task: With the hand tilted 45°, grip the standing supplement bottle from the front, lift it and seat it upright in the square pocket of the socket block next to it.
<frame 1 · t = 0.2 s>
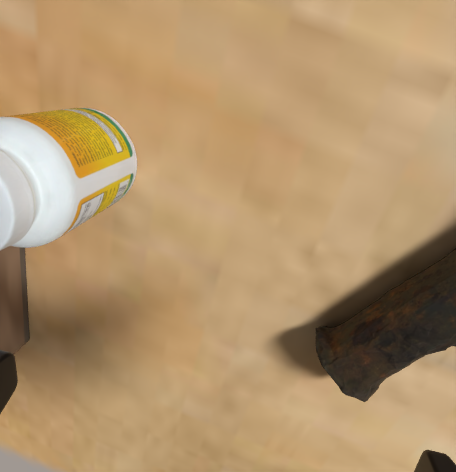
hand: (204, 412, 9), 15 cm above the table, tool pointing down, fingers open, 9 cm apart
supplement bottle: (95, 156, 23), on the table
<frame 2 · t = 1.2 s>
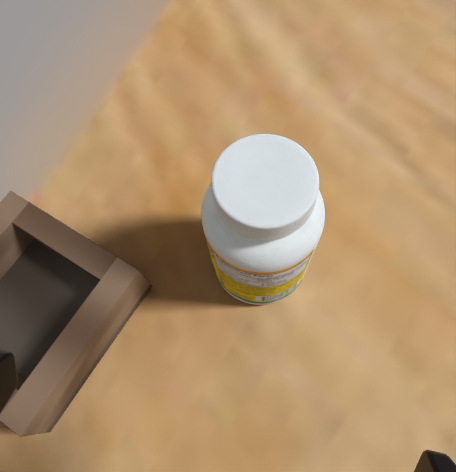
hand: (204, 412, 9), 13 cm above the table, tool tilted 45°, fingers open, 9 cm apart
supplement bottle: (259, 261, 24), on the table
socket block: (42, 311, 24), on the table
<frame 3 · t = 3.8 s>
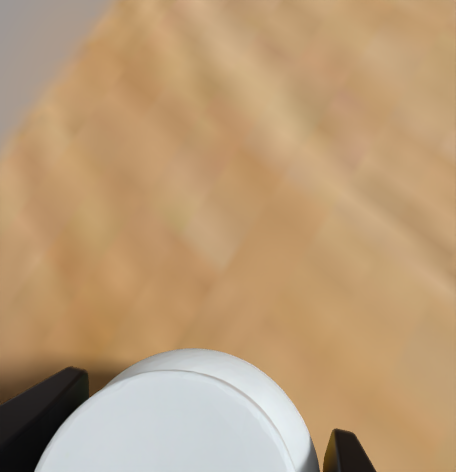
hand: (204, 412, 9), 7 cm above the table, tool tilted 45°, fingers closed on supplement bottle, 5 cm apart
supplement bottle: (215, 449, 15), on the table, touching gripper
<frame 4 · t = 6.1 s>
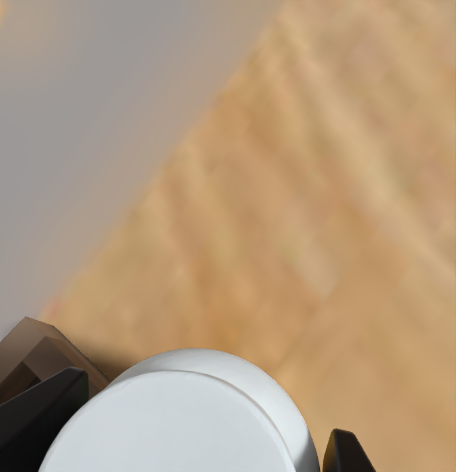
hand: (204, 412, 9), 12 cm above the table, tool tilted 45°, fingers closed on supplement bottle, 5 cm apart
supplement bottle: (217, 446, 15), point 5 cm above the table, touching gripper
socket block: (46, 460, 20), on the table
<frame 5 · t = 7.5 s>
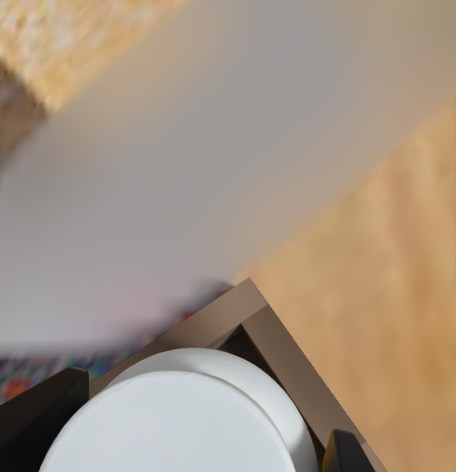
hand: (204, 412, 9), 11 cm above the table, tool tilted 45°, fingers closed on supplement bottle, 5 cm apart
supplement bottle: (216, 446, 15), point 4 cm above the table, touching gripper
socket block: (224, 431, 19), on the table
when the fingers open (8 cm above the table, at t = 8.4 s): supplement bottle stays where it is, resting on socket block.
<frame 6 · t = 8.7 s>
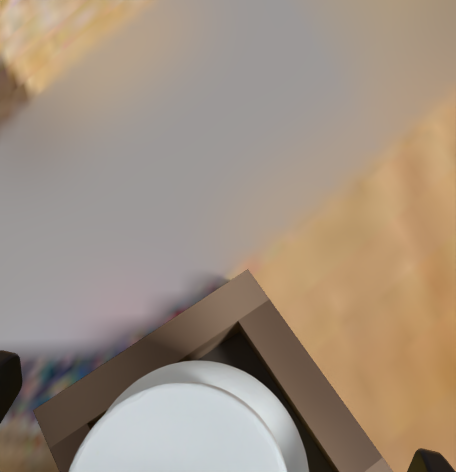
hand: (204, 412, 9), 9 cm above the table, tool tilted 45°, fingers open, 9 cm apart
supplement bottle: (216, 449, 16), resting on socket block
socket block: (219, 443, 16), on the table
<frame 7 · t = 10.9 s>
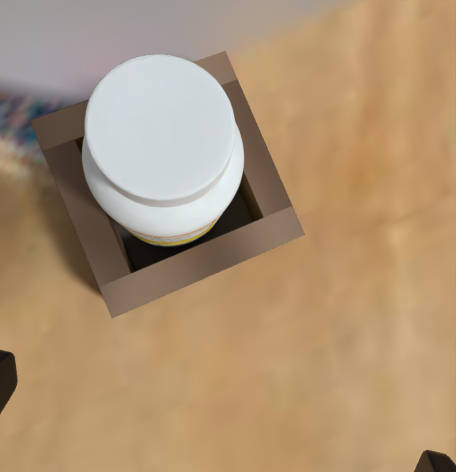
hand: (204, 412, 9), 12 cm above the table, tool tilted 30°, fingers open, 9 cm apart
supplement bottle: (170, 193, 21), resting on socket block
socket block: (172, 191, 21), on the table
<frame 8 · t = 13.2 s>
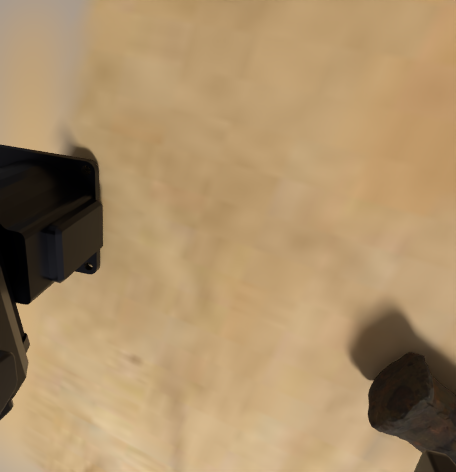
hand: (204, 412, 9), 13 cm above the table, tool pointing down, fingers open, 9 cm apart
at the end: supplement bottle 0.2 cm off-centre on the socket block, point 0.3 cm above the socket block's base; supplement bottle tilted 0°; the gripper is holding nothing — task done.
